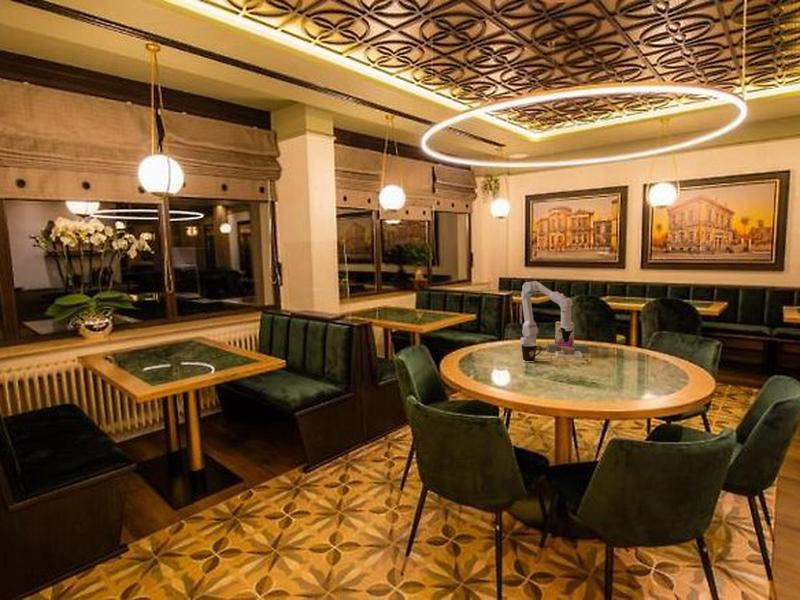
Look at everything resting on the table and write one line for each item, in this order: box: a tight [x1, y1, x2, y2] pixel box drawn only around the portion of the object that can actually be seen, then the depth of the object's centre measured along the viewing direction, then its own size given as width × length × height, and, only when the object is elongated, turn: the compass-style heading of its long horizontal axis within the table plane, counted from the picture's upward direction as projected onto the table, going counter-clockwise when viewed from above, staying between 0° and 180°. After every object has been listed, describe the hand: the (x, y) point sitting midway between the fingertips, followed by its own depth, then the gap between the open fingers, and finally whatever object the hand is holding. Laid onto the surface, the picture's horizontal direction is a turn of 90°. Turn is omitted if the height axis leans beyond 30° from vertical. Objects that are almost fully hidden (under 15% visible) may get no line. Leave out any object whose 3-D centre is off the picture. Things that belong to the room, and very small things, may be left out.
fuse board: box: [545, 346, 590, 354], centre depth 286 cm, size 25×6×4 cm, turn 77°
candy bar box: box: [554, 321, 575, 348], centre depth 303 cm, size 11×5×16 cm, turn 58°
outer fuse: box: [574, 343, 587, 354], centre depth 284 cm, size 6×4×4 cm, turn 77°
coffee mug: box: [521, 343, 543, 361], centre depth 270 cm, size 12×9×10 cm
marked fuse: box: [562, 347, 576, 355], centre depth 277 cm, size 6×4×5 cm
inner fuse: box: [547, 343, 560, 354], centre depth 288 cm, size 6×4×4 cm, turn 77°
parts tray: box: [555, 350, 584, 359], centre depth 277 cm, size 14×10×2 cm
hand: (565, 340), depth 280 cm, fingers open, 7 cm apart
